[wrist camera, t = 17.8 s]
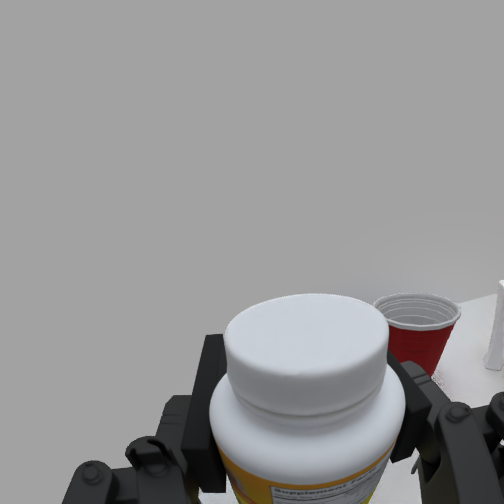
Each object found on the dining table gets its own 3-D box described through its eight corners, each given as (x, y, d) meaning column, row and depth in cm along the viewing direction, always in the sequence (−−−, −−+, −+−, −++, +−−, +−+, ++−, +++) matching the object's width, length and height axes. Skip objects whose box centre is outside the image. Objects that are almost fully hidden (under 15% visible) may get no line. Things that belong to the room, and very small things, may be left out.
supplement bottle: (248, 465, 12) (214, 289, 9) (354, 456, 11) (378, 275, 9) (237, 552, 6) (151, 400, 4) (370, 541, 6) (470, 367, 4)
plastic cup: (438, 364, 32) (452, 286, 29) (443, 415, 22) (471, 326, 20) (368, 361, 37) (374, 285, 34) (356, 412, 27) (366, 325, 25)
